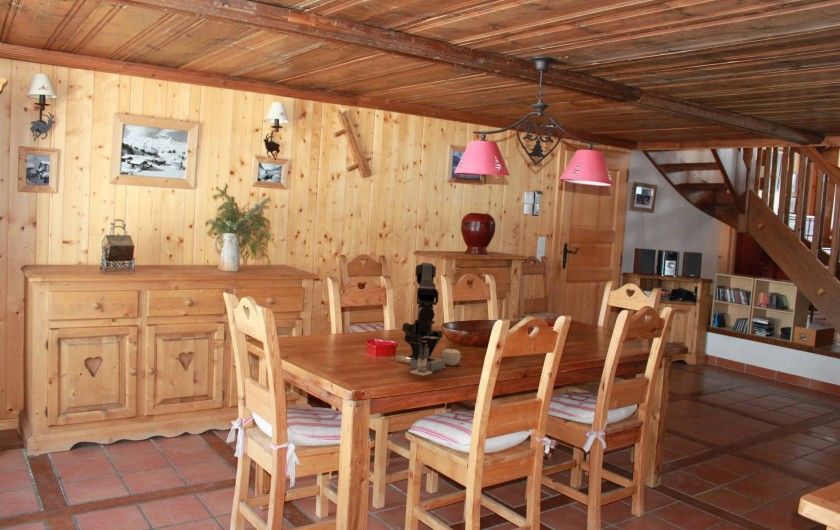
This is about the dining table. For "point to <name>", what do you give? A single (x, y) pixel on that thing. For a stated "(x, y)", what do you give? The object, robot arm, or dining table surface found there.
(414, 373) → the pad
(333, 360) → the dining table surface
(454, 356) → the apple
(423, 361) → the dark square post
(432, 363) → the block
